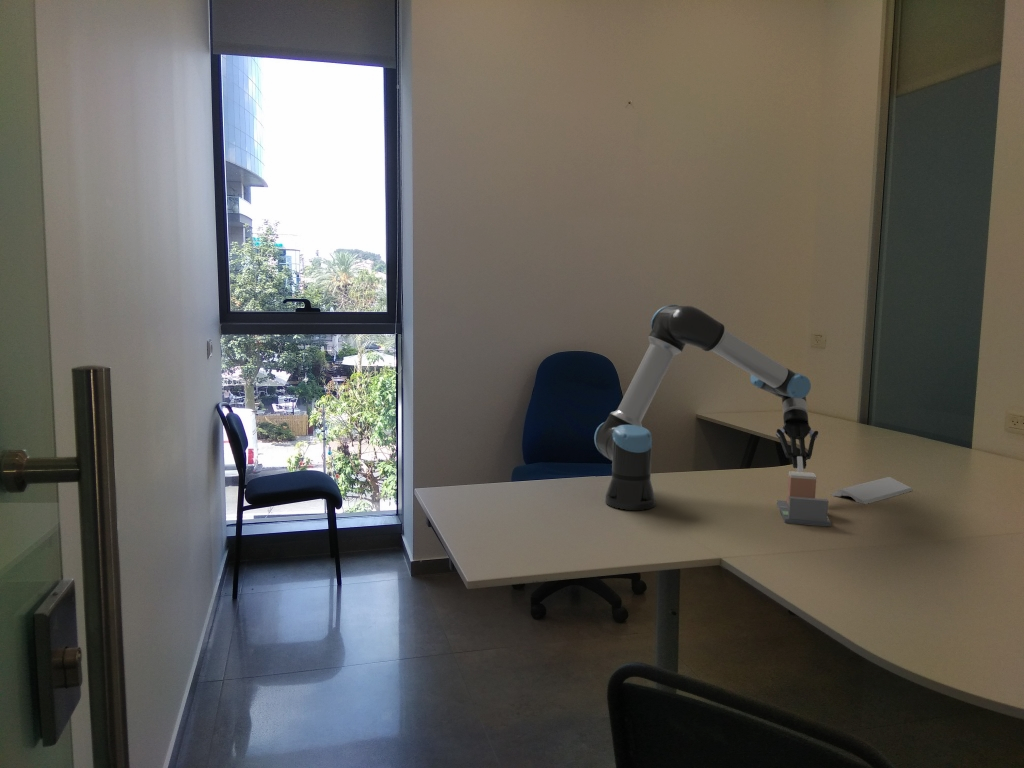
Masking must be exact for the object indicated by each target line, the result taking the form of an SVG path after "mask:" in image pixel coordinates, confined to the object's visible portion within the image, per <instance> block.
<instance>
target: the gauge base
mask: <svg viewBox="0 0 1024 768" xmlns="http://www.w3.org/2000/svg"><path fill="white" fill-rule="evenodd" d="M776 505H777V508H778V510H779V512H780V515H781V517H782V519H783V522H784V523H785V524H793V525H795V524H796V525H807V526H818V527H819V526H820V527H829V526H830V527H831V525H832V522H831V520H830V519H829V517H828V512H829V511H828V510H829V500H828V499H827V498H818V497H817V498H816V497H815V498H804V497H791V496H789V506H788V504H787V500H780V499H779V500H777V501H776ZM830 527H829V528H830Z"/></svg>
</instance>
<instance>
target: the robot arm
mask: <svg viewBox="0 0 1024 768" xmlns="http://www.w3.org/2000/svg"><path fill="white" fill-rule="evenodd" d="M650 327H651V328H650V329H651V330H650V332H649V335H648V337H647V339H648V342H649V345H648V348H647V349H646V352H645V353H644V356H643V358H642V360H641V362H640V364H639V365H638V368H637V369H636V371H635V374H634V375H633V377H632V380H631V382H630V384H629V385H628V388H627V389H626V392H625V393H624V395H623V397H622V400H621V401H620V403H619V405H618V407H617V409H616V410H615V411H611V412H610V413H609V415H608V416H607V419H606V420H605V421H603V422H602V423H601V424H599V425H598V426H597V427H596V430H595V432H594V437H593V439H594V445H595V447H596V449H597V451H598V452H599V453H600V454H601V456H603V457H604V458H606V459H608V460H610V461H611V462H612V463H611V466H612V467H611V479H610V482H609V485H608V487H607V491H606V494H605V497H604V498H605V499H604V500H605V504H606V505H607V504H608V505H607V506H609V505H610V506H609V507H611V506H612V507H611V508H614V507H615V508H614V509H618V508H620V509H619V510H623V509H625V510H626V511H645V510H644V509H646V510H651V509H653V508H655V506H656V495H655V491H654V489H653V485H652V484H653V483H652V481H651V475H652V474H651V472H652V453H653V452H652V448H653V438H652V437H653V435H652V432H651V431H650V430H649V429H647V428H646V427H643V425H642V421H643V419H644V417H645V415H646V413H647V411H648V409H649V407H650V405H651V403H652V401H653V399H654V398H655V395H656V393H657V391H658V389H659V387H660V385H661V383H662V381H663V379H664V378H665V376H666V373H667V372H668V369H669V367H670V365H671V364H672V361H673V359H674V357H675V356H676V355H679V354H682V352H683V350H684V348H685V346H686V345H690V346H694V347H697V348H698V349H701V350H702V351H705V352H706V353H709V352H713V353H714V354H716V355H718V356H720V357H721V358H723V359H725V360H726V361H728V362H730V363H731V364H733V365H735V366H736V367H738V368H739V369H741V370H742V371H744V372H746V373H748V374H750V383H751V384H752V385H753V386H755V387H756V388H758V389H761V390H763V391H764V392H767V393H770V394H772V395H775V396H776V397H778V398H780V399H781V403H782V414H783V426H782V428H777V429H776V433H775V436H776V437H777V438H778V439H779V442H780V446H782V450H783V452H784V455H785V458H786V459H791V461H792V467H793V469H796V472H804V469H806V468H807V460H811V459H812V454H813V451H814V446H815V441H816V440H817V438H818V435H819V430H812V428H811V426H810V423H809V415H808V406H807V405H808V404H807V403H808V402H807V396H808V394H809V393H810V391H811V389H812V388H811V387H812V384H811V381H810V379H809V378H808V377H807V376H806V375H804V374H802V373H798V372H794V371H793V370H791V369H790V368H787V367H786V366H784V365H783V364H781V363H779V362H778V361H777V360H775V359H773V358H772V357H770V356H768V355H767V354H765V353H763V352H762V351H761V350H759V349H757V348H755V347H753V345H751V344H749V343H747V342H746V341H744V340H742V339H741V338H739V337H738V336H736V335H734V334H733V333H731V332H729V331H728V330H727V329H726V326H725V325H724V324H723V323H721V322H720V321H718V320H717V319H715V318H714V317H712V316H710V315H709V314H707V313H706V312H705V311H703V310H701V309H699V308H697V307H694V306H691V305H677V304H670V305H664V306H662V307H660V308H659V309H658V310H657V311H656V312H655V313H654V314H653V316H652V318H651V321H650ZM785 435H786V436H787V437H788V438H789V440H790V446H789V443H788V441H787V438H786V436H785ZM808 435H809V437H810V439H809V445H808V450H807V453H806V440H805V438H806V437H807V436H808ZM797 440H798V445H799V453H800V455H799V456H798V449H797ZM652 507H653V508H652ZM625 510H624V511H625Z"/></svg>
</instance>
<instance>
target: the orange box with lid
mask: <svg viewBox="0 0 1024 768" xmlns="http://www.w3.org/2000/svg"><path fill="white" fill-rule="evenodd" d="M787 478H788V479H787V481H788V482H787V496H786V501H787V504H788V506H789V496H791V497H804V498H816V489H817V476H816V474H815V473H814V472H808V471H803V472H797V471H793V470H791V471H790V470H789V471H788V477H787Z"/></svg>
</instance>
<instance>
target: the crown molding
mask: <svg viewBox="0 0 1024 768" xmlns="http://www.w3.org/2000/svg"><path fill="white" fill-rule="evenodd" d="M909 491H911V492H913V489H912V487H911V486H908V485H907V484H904V483H902V482H901V481H899V480H896V479H895V478H893V477H891V476H887V477H883V478H879V479H875V480H871V481H867V482H863V483H858V484H855V485H850V486H847V487H843V488H840V489H838V490H836V491H835V492H832V493H831V494H829V496H831V495H832V497H839V498H840V497H851V498H852V499H853V500H854V501H855V502H856V503H858V502H859V504H862V505H869V504H872V503H876V502H878V501H882V500H885V499H886V500H887V499H889V498H892V497H893V498H894V497H896V496H900V495H902V494H903V493H904V494H906V492H907V493H910V492H909ZM868 503H869V504H868Z"/></svg>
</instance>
